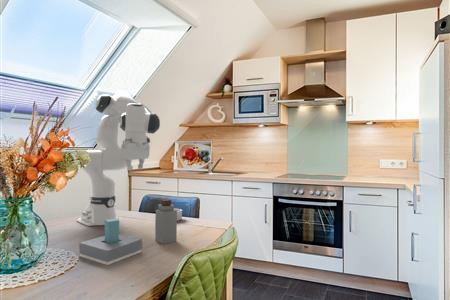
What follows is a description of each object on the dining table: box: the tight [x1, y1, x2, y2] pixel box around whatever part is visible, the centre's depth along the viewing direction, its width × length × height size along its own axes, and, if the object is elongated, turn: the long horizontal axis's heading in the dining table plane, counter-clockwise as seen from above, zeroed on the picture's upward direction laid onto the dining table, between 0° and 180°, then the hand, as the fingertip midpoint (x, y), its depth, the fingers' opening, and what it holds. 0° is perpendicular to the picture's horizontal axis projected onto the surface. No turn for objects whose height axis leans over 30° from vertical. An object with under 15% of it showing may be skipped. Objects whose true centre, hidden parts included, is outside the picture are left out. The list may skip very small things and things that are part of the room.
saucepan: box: [174, 207, 183, 222], centre depth 177 cm, size 12×20×6 cm, turn 7°
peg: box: [104, 218, 120, 244], centre depth 118 cm, size 4×4×12 cm
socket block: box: [79, 233, 143, 266], centre depth 118 cm, size 16×16×5 cm
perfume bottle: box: [154, 198, 178, 245], centre depth 135 cm, size 7×7×18 cm
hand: (135, 169), depth 139 cm, fingers open, 8 cm apart
